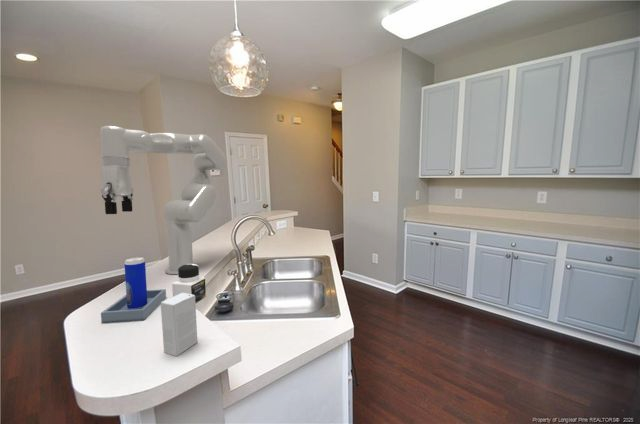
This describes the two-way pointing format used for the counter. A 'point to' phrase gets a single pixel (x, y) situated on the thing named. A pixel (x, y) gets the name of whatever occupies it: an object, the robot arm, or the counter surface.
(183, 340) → the skincare box
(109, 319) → the tray
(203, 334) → the counter surface
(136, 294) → the beverage can
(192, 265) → the medicine bottle
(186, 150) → the robot arm
